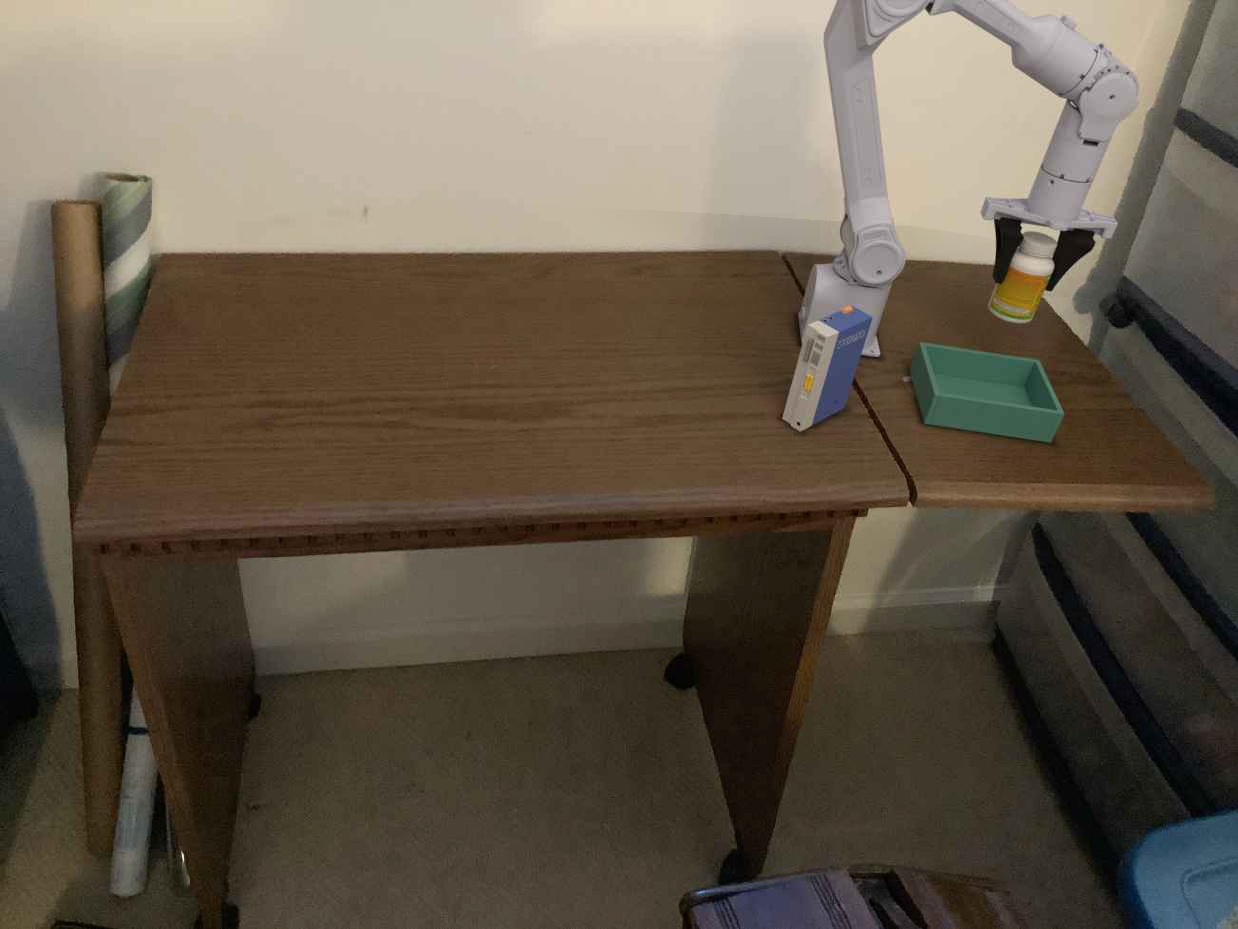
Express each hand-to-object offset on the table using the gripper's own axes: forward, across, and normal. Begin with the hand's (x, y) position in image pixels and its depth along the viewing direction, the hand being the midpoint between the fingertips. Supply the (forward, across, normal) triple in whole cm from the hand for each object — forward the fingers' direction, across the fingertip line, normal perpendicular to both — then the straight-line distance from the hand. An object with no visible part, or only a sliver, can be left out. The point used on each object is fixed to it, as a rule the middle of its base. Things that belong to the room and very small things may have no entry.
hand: (1021, 283), depth 119 cm
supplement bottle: (+4, 0, 0) cm, 4 cm away
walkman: (+10, -23, -19) cm, 32 cm away
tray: (+10, -4, -12) cm, 16 cm away
